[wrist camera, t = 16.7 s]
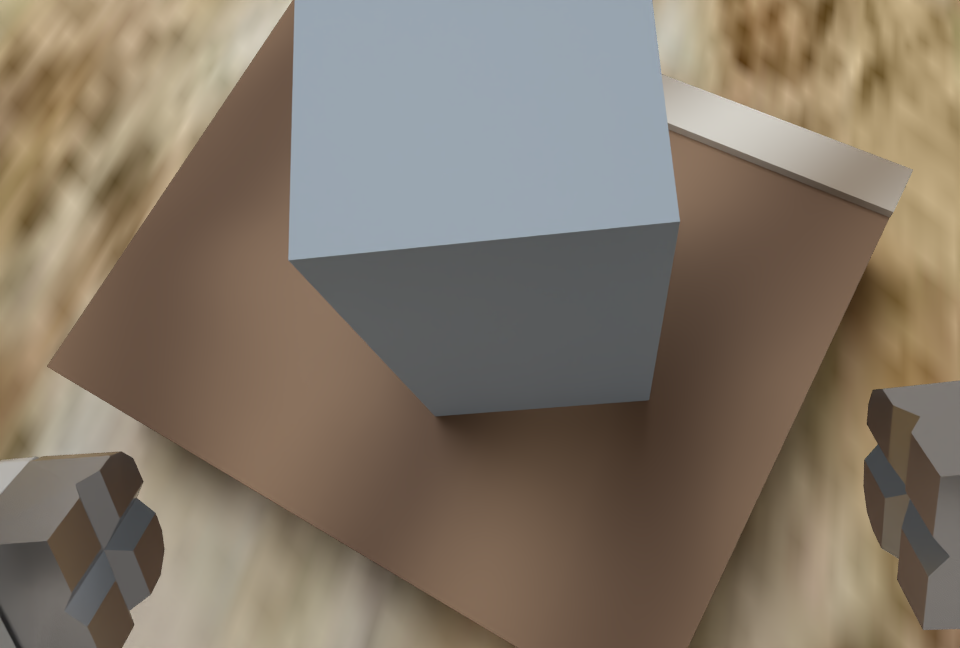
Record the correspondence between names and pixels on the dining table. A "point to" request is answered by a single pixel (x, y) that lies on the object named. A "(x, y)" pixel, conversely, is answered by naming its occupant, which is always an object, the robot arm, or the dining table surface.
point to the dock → (506, 434)
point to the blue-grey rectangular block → (487, 193)
